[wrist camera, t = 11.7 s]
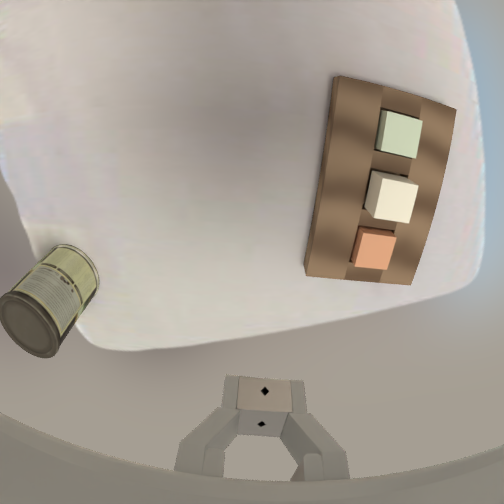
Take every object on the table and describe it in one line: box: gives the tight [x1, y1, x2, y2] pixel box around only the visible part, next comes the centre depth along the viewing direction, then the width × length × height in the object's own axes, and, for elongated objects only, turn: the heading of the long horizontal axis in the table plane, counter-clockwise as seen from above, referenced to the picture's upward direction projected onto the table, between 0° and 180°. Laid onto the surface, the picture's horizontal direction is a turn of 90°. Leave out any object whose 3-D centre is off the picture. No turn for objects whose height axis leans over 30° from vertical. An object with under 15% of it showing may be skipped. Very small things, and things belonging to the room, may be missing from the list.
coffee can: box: [0, 245, 99, 358], centre depth 38 cm, size 10×10×14 cm
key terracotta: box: [350, 225, 397, 270], centre depth 38 cm, size 4×4×4 cm
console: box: [304, 76, 456, 285], centre depth 36 cm, size 24×15×3 cm, turn 174°
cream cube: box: [364, 171, 418, 223], centre depth 33 cm, size 4×4×4 cm
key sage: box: [374, 110, 423, 159], centre depth 31 cm, size 4×4×4 cm
